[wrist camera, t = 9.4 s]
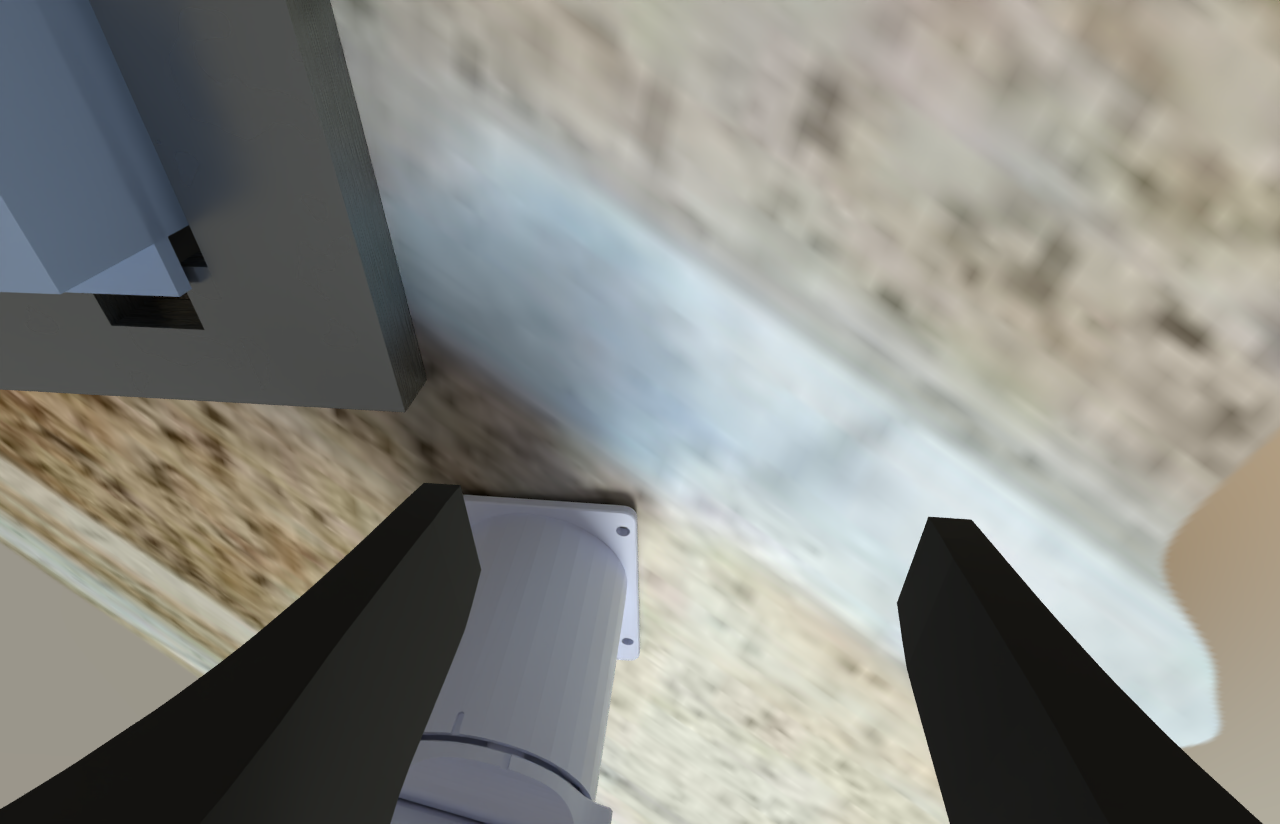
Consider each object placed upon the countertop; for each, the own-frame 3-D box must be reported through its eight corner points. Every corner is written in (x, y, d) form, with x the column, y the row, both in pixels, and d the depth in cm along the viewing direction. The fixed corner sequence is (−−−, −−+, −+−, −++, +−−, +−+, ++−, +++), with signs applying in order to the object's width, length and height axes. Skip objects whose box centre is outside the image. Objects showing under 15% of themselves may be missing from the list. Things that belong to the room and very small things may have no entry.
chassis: (426, 379, 21) (404, 412, 20) (45, 360, 23) (0, 389, 21) (241, -345, 12) (173, -383, 10) (-401, -306, 13) (-539, -335, 12)
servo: (239, 268, 20) (75, 381, 15) (125, 264, 20) (-73, 373, 15) (87, -100, 14) (-249, -118, 9) (-65, -96, 15) (-466, -112, 10)
